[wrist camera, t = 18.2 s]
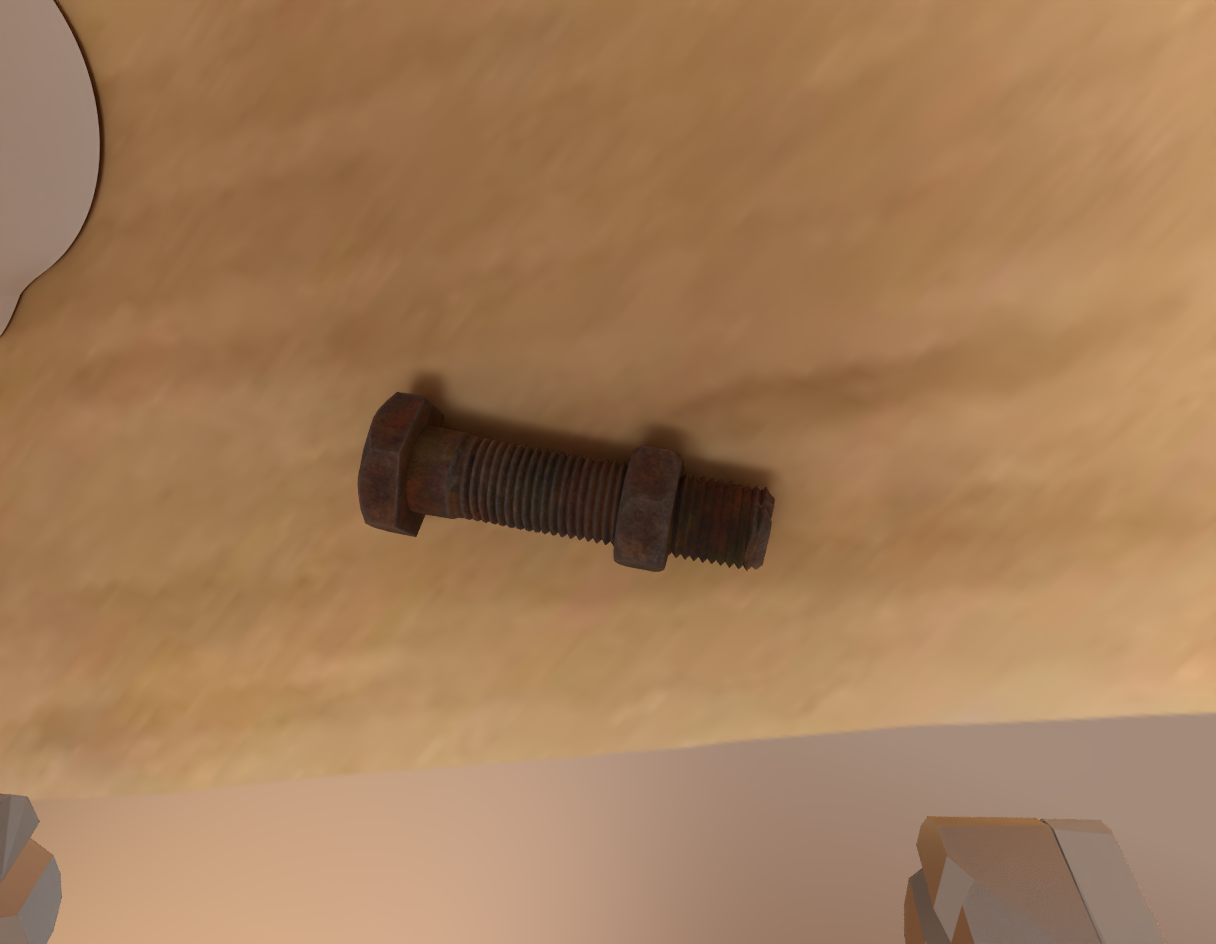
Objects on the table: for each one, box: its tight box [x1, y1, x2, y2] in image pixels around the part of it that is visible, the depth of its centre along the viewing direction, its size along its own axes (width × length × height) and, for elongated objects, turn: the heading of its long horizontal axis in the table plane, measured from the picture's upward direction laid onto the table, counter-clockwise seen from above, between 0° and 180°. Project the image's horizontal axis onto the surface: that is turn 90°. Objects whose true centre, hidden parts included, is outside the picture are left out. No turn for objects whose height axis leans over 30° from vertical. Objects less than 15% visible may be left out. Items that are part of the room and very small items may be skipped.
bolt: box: [358, 392, 774, 572], centre depth 39 cm, size 6×5×15 cm
